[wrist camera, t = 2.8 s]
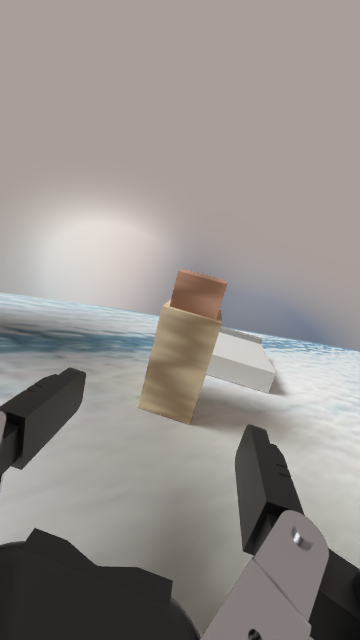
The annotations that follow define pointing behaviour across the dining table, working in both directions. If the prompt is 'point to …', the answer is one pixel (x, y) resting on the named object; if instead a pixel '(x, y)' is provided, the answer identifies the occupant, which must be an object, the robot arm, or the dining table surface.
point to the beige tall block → (183, 346)
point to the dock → (241, 360)
